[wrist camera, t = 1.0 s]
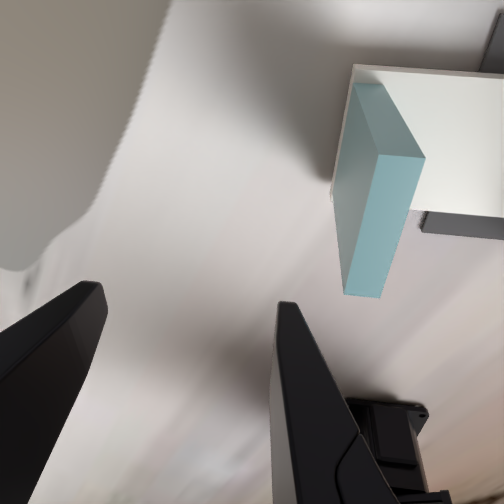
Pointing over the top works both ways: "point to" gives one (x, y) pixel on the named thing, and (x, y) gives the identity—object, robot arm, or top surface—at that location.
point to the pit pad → (498, 62)
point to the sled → (412, 160)
